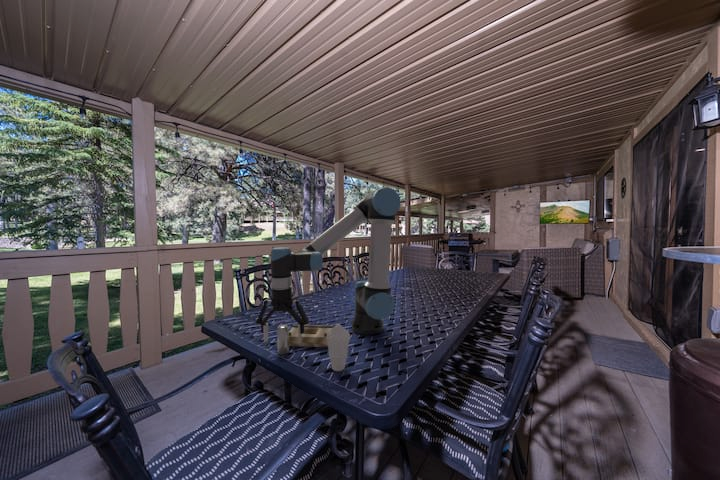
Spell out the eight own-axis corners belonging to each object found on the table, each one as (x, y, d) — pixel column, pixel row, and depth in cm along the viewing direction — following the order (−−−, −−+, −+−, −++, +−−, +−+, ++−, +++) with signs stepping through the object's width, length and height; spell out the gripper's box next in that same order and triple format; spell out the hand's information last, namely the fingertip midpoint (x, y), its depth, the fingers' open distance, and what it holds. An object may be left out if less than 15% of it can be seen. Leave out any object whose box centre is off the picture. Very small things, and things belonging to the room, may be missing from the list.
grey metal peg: (290, 349, 108) (290, 324, 107) (286, 354, 103) (286, 329, 103) (279, 349, 108) (279, 324, 108) (275, 354, 104) (275, 328, 103)
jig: (333, 334, 122) (333, 324, 121) (328, 347, 110) (328, 334, 109) (294, 334, 123) (294, 323, 123) (285, 346, 111) (284, 334, 111)
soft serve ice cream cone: (326, 362, 97) (326, 319, 96) (349, 361, 98) (349, 318, 97) (325, 375, 89) (325, 327, 88) (351, 374, 90) (350, 326, 89)
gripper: (315, 285, 107) (316, 337, 108) (254, 285, 109) (256, 336, 110) (311, 290, 100) (312, 346, 101) (245, 289, 101) (247, 344, 103)
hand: (283, 341), depth 106 cm, fingers open, 13 cm apart
